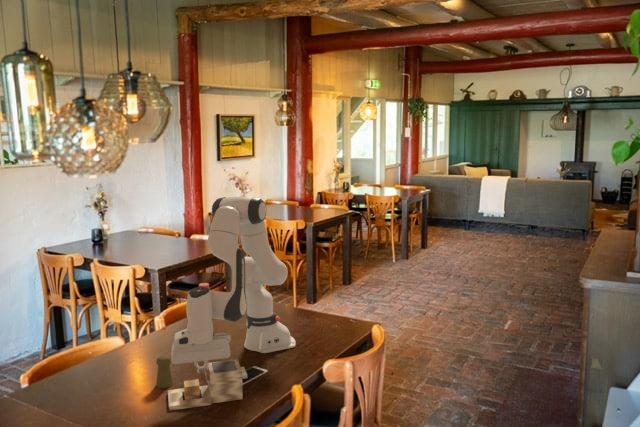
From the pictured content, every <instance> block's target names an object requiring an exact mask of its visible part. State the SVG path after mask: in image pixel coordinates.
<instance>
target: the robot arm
mask: <svg viewBox="0 0 640 427" xmlns="http://www.w3.org/2000/svg"><path fill="white" fill-rule="evenodd" d="M211 215H212V220H211V224H210V228H209V232H208V237H207V247H208V250H209V252H210V253H211V254H212V255H213V256H214V257H216V258H217V259H218V260H221V261H223V262H226V263H227V264H228V265H229V266H230V268H231V289H230V292H228V291H226V292H225V291H218V290H211V289H210V287H209V288H207V287H199V286H197V287H194V288H192V289H190V290H189V291H188V294H187V299H186V317H187V326H186V328H185V329H181V330H180V331H177V332H175V333H174V337H173V338H174V341H173V343H172V345H171V353H170V358H171V363H172V364H173V365H181V364H187V363H193V365H194V366H195V368H196V371H197V372H196V373H197V374H202V373H205V372H206V367H207V365H208V363H210V361H215V360H223V359H229V358H230V356H231V346H230V343H231V341H232V340H231V334H230V333H228V332H226V331H223V332H214V323H213V319H216V320H225V321H227V322H228V321H229V322H233V323H235V322H237V321H239V320H241V319H242V318H243V317H244V316H246V317H245V318H246V319H245V324H246V336H245V341H244V344H243V347H244V348H245V349H246V350H248V351H253V352H258V353H261V354H267V353H273V352H277V351H283V350H287V349H291V348H295V347H296V345H297V344H296V340H295V338H294V337H293V336H291V332H290V330H289V328H288V327H287V326H286V325H284V324H283V323H281V322H280V320H281V317H280V316H279V315H278V314H277V313H275V312H274V310H273V309H274V304H273V303H274V302H273V300H274V299H273V298H274V297H273V295H272V294H271V293H270V292H269V291H268V290H267V289H266V288H265V287H264V286H281V285H283V284H284V283H285V282H286V280H287V278H288V272H289V271H288V267H287V266H286V264H285V263H284V262H283V261H282V260H280V259H279V257H278V256H277V255H276V254H275V252H274V251H273V249H272V248H271V246H270V243H269V239H268V234H267V228H266V223H265V219H266V216H267V205H266V202H265V201H264V200H263V199H262V198H260V197H254V196H253V197H249V196H233V197H226V196H225V197H220V198H216V200H215V201H214V202H213V203H212V206H211ZM239 238H240V242H241V248H242V249H241V248H240V246H239ZM245 254H246V255H248V256H245ZM246 312H247V313H246ZM199 362H204V363H203V365H199Z"/></svg>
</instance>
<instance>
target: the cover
mask: <svg viewBox="0 0 640 427" xmlns="http://www.w3.org/2000/svg"><path fill="white" fill-rule="evenodd" d="M240 367H241V369H242V379H244V378H247V373H246V371H245V370H246V369H245V366H240ZM204 374H205V375H204V376H205V379H206V383H207V384H208V383H210V371H209V367H208V365H207V367H206V372H204Z"/></svg>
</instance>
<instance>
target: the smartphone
mask: <svg viewBox="0 0 640 427" xmlns="http://www.w3.org/2000/svg"><path fill="white" fill-rule="evenodd" d="M245 371H246V373H247V378H244V379H242V386H243V385H244V386H245V384H247V383H250V382H251V381H253V380H255V379H257V378H259V377H261V376H262V375H264V374H266V373H267V372H269V371H268V369H265V368H261V367H259V366H256V365H254V366H252V367H249V368H247V369H245Z"/></svg>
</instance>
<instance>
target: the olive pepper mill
mask: <svg viewBox="0 0 640 427" xmlns="http://www.w3.org/2000/svg"><path fill="white" fill-rule="evenodd" d="M171 363H172V361H171V355H168V354H167V355H166V354H162V355H159V356H158V357H157V358H156V363H155V364H156V365H157V375H156V383H155V384H156V388H158V389H168V388H171V387H172V386H173V384H174V381H173V380H174V379H173V375H172V370H171Z"/></svg>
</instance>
